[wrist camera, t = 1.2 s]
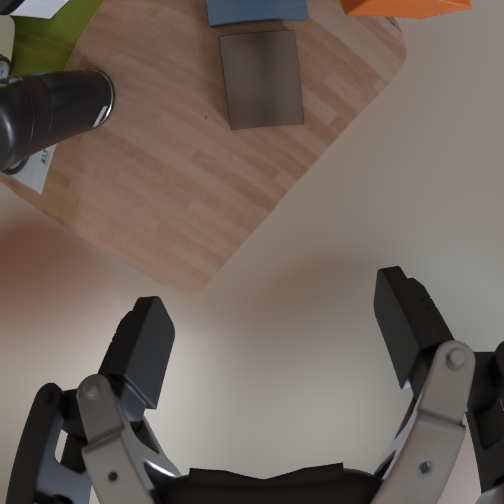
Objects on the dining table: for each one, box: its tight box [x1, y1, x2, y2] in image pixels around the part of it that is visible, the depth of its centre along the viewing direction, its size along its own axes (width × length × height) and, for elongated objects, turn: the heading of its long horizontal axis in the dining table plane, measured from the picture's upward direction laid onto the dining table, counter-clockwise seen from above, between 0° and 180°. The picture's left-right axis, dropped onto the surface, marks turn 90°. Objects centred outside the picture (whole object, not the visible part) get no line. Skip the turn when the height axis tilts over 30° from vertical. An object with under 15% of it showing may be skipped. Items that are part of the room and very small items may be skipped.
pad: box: [219, 30, 304, 130], centre depth 29 cm, size 9×12×2 cm
